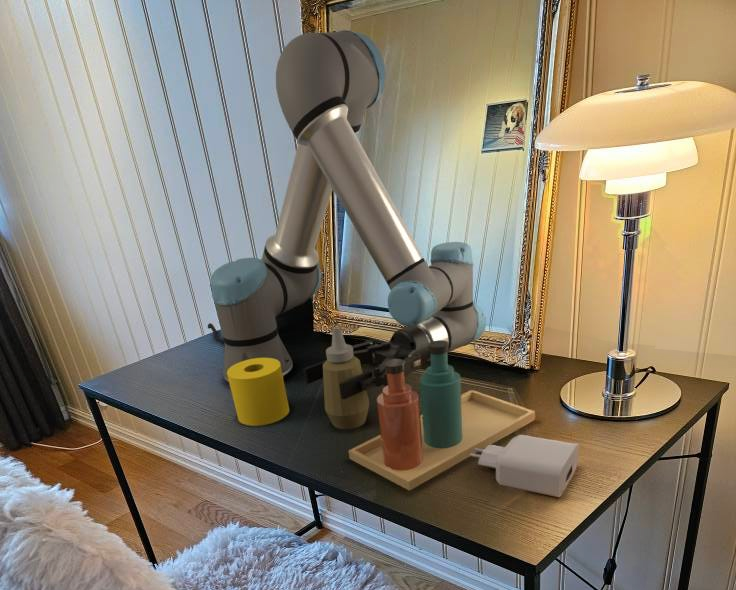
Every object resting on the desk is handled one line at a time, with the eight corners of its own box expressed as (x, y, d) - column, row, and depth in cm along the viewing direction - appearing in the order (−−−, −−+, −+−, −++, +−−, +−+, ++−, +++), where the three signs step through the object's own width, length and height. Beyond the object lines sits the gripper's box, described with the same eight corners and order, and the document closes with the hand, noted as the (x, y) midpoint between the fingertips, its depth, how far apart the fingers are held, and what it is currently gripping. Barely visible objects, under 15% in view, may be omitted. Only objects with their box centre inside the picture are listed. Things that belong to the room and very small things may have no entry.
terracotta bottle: (375, 461, 105) (364, 364, 96) (404, 446, 108) (396, 351, 99) (401, 474, 101) (392, 374, 92) (431, 458, 104) (425, 360, 95)
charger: (484, 451, 105) (577, 468, 98) (460, 480, 99) (558, 500, 92) (483, 425, 102) (579, 441, 95) (459, 453, 96) (560, 472, 89)
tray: (349, 461, 107) (348, 450, 106) (471, 399, 121) (471, 389, 120) (409, 493, 97) (408, 481, 96) (535, 422, 111) (535, 411, 110)
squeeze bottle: (366, 434, 114) (354, 335, 104) (322, 434, 116) (306, 337, 106) (375, 413, 121) (364, 318, 111) (333, 414, 123) (319, 320, 113)
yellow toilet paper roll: (268, 398, 132) (259, 354, 127) (299, 410, 126) (291, 364, 120) (228, 417, 127) (216, 371, 121) (258, 430, 120) (247, 383, 115)
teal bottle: (416, 440, 109) (408, 345, 100) (443, 426, 113) (438, 333, 103) (443, 452, 105) (438, 354, 96) (470, 437, 108) (468, 341, 99)
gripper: (462, 376, 116) (366, 422, 106) (381, 350, 132) (290, 387, 121) (461, 336, 112) (361, 379, 101) (377, 313, 127) (283, 349, 117)
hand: (323, 383), depth 111 cm, fingers open, 10 cm apart
